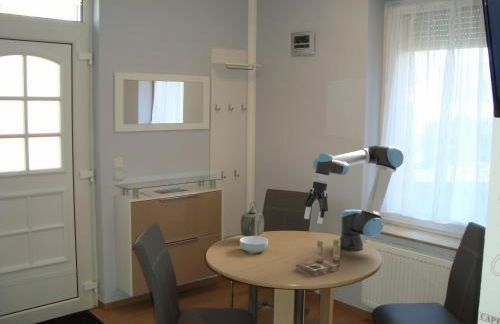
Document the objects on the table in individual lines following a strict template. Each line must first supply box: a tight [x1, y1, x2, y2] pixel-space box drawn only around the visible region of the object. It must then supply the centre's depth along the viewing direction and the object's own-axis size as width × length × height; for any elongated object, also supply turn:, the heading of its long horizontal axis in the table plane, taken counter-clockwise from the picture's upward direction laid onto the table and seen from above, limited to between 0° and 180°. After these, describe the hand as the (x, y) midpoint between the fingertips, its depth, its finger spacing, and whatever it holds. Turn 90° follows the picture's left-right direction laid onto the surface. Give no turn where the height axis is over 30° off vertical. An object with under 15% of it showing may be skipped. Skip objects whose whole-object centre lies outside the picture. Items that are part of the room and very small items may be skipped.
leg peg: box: [332, 238, 341, 268], centre depth 267 cm, size 4×4×14 cm
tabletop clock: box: [240, 201, 265, 237], centre depth 312 cm, size 14×9×25 cm, turn 150°
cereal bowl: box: [239, 235, 269, 254], centre depth 292 cm, size 17×17×7 cm
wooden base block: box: [294, 240, 339, 278], centre depth 259 cm, size 18×13×14 cm
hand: (312, 221), depth 268 cm, fingers open, 13 cm apart
